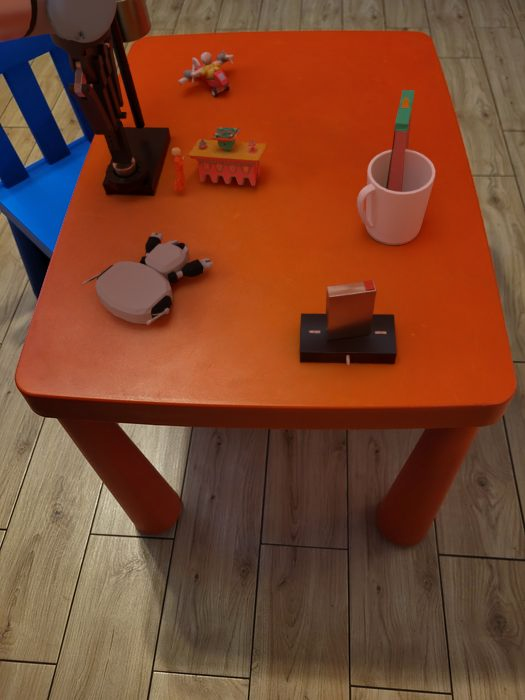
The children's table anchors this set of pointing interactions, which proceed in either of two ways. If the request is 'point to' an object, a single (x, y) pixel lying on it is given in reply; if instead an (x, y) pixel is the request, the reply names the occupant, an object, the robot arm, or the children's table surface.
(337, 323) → the small card box
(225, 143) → the building blocks
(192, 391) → the children's table surface
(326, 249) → the children's table surface
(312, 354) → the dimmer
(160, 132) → the lamp base
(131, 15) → the lamp
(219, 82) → the toy airplane
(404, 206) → the mug
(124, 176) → the lamp switch
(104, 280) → the robot toy
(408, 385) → the children's table surface
